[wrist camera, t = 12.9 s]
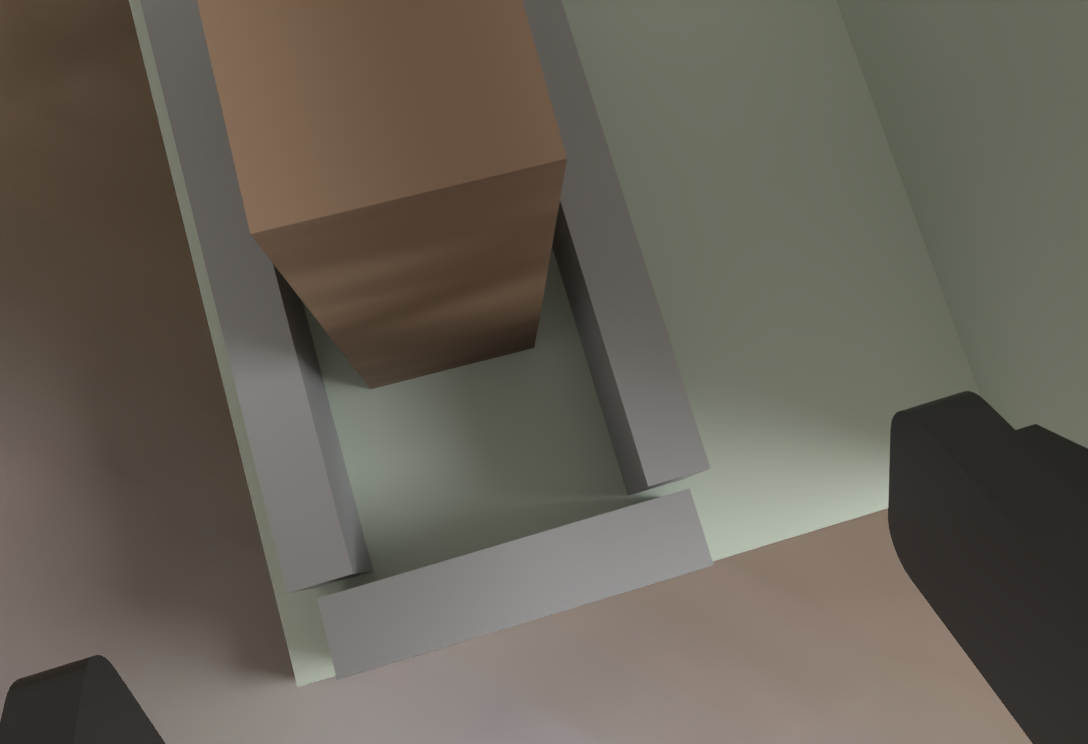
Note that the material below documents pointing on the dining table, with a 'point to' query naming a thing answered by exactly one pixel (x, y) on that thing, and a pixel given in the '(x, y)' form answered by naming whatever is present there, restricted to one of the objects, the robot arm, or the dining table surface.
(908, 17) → the sage green display stand
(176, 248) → the dining table surface
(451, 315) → the brown wooden block
